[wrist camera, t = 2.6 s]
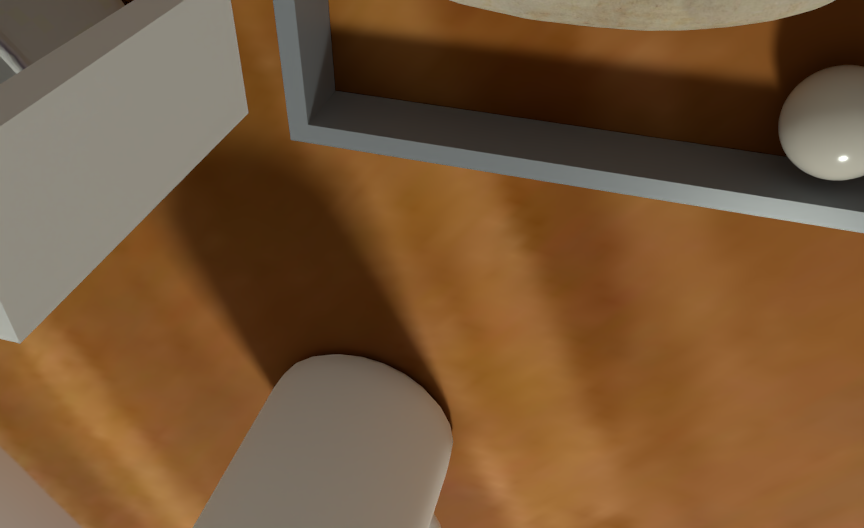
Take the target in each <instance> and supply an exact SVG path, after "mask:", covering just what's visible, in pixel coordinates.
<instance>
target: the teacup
mask: <svg viewBox="0 0 864 528" xmlns="http://www.w3.org/2000/svg"><path fill="white" fill-rule="evenodd" d="M124 6H125V5H124V3H123V2H122V0H0V84H1V83H3V82H4V81H6V80H8V79H9V78H11V77H12V76H14V75H15V74H17V73H19V72H20V71H22V70H23V69H25V68H27V67H28V66H30V65H31V64H33V63H35V62H36V61H38V60H39V59H41V58H43V57H44V56H46V55H47V54H49V53H51V52H52V51H54V50H55V49H57V48H59V47H60V46H62V45H63V44H65V43H67V42H68V41H70V40H71V39H73V38H74V37H76V36H78V35H79V34H81V33H82V32H84V31H86V30H87V29H89V28H90V27H92V26H94V25H95V24H97V23H98V22H100V21H102V20H103V19H105V18H106V17H108V16H110V15H111V14H113V13H114V12H116V11H118V10H119V9H121V8H122V7H124Z"/></svg>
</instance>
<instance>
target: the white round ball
mask: <svg viewBox="0 0 864 528" xmlns="http://www.w3.org/2000/svg"><path fill="white" fill-rule="evenodd" d="M778 131H779V138H780V142H781V145H782V148H783V150H784V152H785V153H786V155H787V156H788V158H789V159H790V160H791V161H792V163H793V164H795V165H796V166H797V167H798V168H799V169H801V170H802V171H804V172H805V173H807V174H810V175H812V176H814V177H817V178H820V179H825V180H834V181H835V180H849V179H854V178H858V177H861V176H864V67H863V66H857V65H839V66H833V67H829V68H825V69H823V70H820V71H818V72H816V73H814V74H812V75H810V76H808V77H807V78H805V79H804V80H803V81H802V82H800V83H799V84H798V85H797V86H796V87H795V88H794V89H793V91H792V92H791V93H790V94H789V96H788V97H787V99H786V101H785V102H784V105H783V107H782V110H781V113H780V117H779V124H778Z"/></svg>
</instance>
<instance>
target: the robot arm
mask: <svg viewBox="0 0 864 528" xmlns="http://www.w3.org/2000/svg"><path fill="white" fill-rule="evenodd" d="M247 114H248V108H247V101H246V95H245V88H244V82H243V76H242V69H241V63H240V56H239V50H238V44H237V37H236V31H235V25H234V18H233V12H232V5H231V0H134V1H132V2H130V3H129V4H127V5H126V6H124V7H122V8H121V9H119V10H118V11H116V12H114V13H113V14H111V15H110V16H108V17H106V18H105V19H103V20H102V21H100V22H98V23H97V24H95V25H94V26H92V27H90V28H89V29H87V30H86V31H84V32H82V33H81V34H79V35H78V36H76V37H74V38H73V39H71V40H70V41H68V42H67V43H65V44H63V45H62V46H60V47H59V48H57V49H55V50H54V51H52V52H51V53H49V54H47V55H46V56H44V57H43V58H41V59H39V60H38V61H36V62H35V63H33V64H31V65H30V66H28V67H27V68H25V69H23V70H22V71H20V72H19V73H17V74H15V75H14V76H12V77H11V78H9V79H8V80H6V81H4V82H3V83H1V84H0V339H4V340H8V341H12V342H16V343H21V342H22V341H23V340H24V339H25V338H26V337H27V336H28V335H29V334H30V333H31V332H32V331H33V330H34V329H35V328H36V327H37V326H38V325H39V324H40V323H41V322H42V321H43V320H44V319H45V318H46V317H47V316H48V315H49V314H50V313H51V312H52V311H53V310H54V309H55V308H56V307H57V306H58V305H59V304H60V303H61V302H62V301H63V300H64V299H65V298H66V297H67V296H68V295H69V294H70V293H71V292H72V291H73V290H74V289H75V288H76V287H77V286H78V285H79V284H80V283H81V282H82V281H83V280H84V279H85V278H86V277H87V276H88V275H89V274H90V272H91V271H92V270H93V269H94V268H95V267H96V266H97V265H98V264H99V263H100V262H101V261H102V260H103V259H104V258H105V257H106V256H107V255H108V254H109V253H110V252H111V251H112V250H113V249H114V248H115V247H116V246H117V245H118V244H119V243H120V242H121V241H122V240H123V239H124V238H125V237H126V236H127V235H128V234H129V233H130V232H131V231H132V230H133V229H134V228H135V227H136V226H137V225H138V224H139V223H140V222H141V221H142V220H143V219H144V218H145V217H146V216H147V215H148V214H149V213H150V212H151V211H152V210H153V209H154V208H155V207H156V206H157V205H158V204H159V203H160V202H161V201H162V200H163V199H164V198H165V197H166V196H167V195H168V194H169V193H170V192H171V191H172V190H173V189H174V188H175V187H176V186H177V185H178V184H179V183H180V182H181V181H182V180H183V179H184V178H185V177H186V176H187V175H188V174H189V173H190V172H191V171H192V170H193V169H194V167H195V166H196V165H197V164H198V163H199V162H200V161H201V160H202V159H203V158H204V157H205V156H206V155H207V154H208V153H209V152H210V151H211V150H212V149H213V148H214V147H215V146H216V145H217V144H218V143H219V142H220V141H221V140H222V139H223V138H224V137H225V136H226V135H227V134H228V133H229V132H230V131H231V130H232V129H233V128H234V127H235V126H236V125H237V124H238V123H239V122H240V121H241V120H242V119H243V118H244V117H245V116H246V115H247Z"/></svg>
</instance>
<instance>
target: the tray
mask: <svg viewBox="0 0 864 528" xmlns="http://www.w3.org/2000/svg"><path fill="white" fill-rule="evenodd" d="M273 4H274V12H275V20H276V28H277V36H278V43H279V51H280V59H281V67H282V75H283V83H284V90H285V98H286V106H287V114H288V122H289V130H290V137H291V140H295V141H301V142H307V143H313V144H320V145H326V146H332V147H338V148H344V149H350V150H356V151H363V152H369V153H375V154H381V155H387V156H393V157H399V158H406V159H412V160H418V161H424V162H430V163H436V164H442V165H449V166H455V167H461V168H467V169H473V170H479V171H485V172H492V173H498V174H504V175H510V176H516V177H522V178H528V179H535V180H541V181H547V182H553V183H559V184H565V185H571V186H578V187H584V188H590V189H596V190H602V191H608V192H614V193H621V194H627V195H633V196H639V197H645V198H651V199H657V200H664V201H670V202H676V203H682V204H688V205H694V206H700V207H707V208H713V209H719V210H725V211H731V212H737V213H743V214H750V215H756V216H762V217H768V218H774V219H780V220H786V221H793V222H799V223H805V224H811V225H817V226H823V227H829V228H836V229H842V230H848V231H854V232H860V233H864V176H861V177H858V178H854V179H849V180H835V181H834V180H825V179H820V178H817V177H814V176H812V175H810V174H807V173H805V172H804V171H802V170H801V169H799V168H798V167H797V166H796V165H795V164H793V163H792V161H791V160H790V159H789V158H788V157H784V156H777V155H770V154H764V153H757V152H750V151H743V150H736V149H729V148H723V147H716V146H709V145H702V144H695V143H689V142H682V141H675V140H668V139H661V138H654V137H648V136H641V135H634V134H627V133H620V132H614V131H607V130H600V129H593V128H586V127H580V126H573V125H566V124H559V123H552V122H545V121H539V120H532V119H525V118H518V117H511V116H505V115H498V114H491V113H484V112H477V111H470V110H464V109H457V108H450V107H443V106H436V105H430V104H423V103H416V102H409V101H402V100H395V99H389V98H382V97H375V96H368V95H361V94H355V93H348V92H341V91H335V80H334V67H333V55H332V43H331V30H330V18H329V6H328V0H273Z"/></svg>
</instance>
